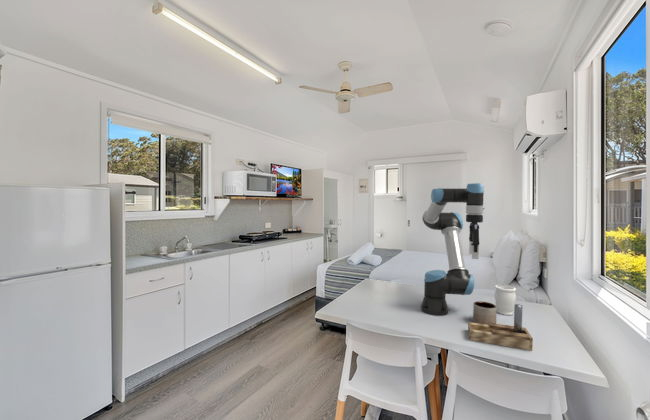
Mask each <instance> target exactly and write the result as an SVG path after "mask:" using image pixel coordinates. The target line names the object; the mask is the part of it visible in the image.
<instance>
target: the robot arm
mask: <svg viewBox="0 0 650 420" xmlns="http://www.w3.org/2000/svg"><path fill="white" fill-rule="evenodd" d="M484 187H485V186H484V184H483V183H480V182H479V183H478V182H477V183H476V182H475V183H473V182H472V183H467V185H466V188H443V187H442V188H441V187H439V188H433V189H432V190H431V193H430V199H431V203H430V205H429V207H428V209H427V210H425V211H424V213H423V215H422V222H423V223H424V225H425V226H426V227H427V228H428V229H431V230H435V231H436V230H437V231H441V235H443V236H444V241H445V242H444V243H445V249H446V253H447V254H446V255H447V260H448V268H449V269H448V270H447V272H446V271H445V270H440V269H434V270H429V271H426V272H425V274H424V280H423V281H424V285H423V286H424V291H423V292H424V294H423V295H424V296H423V299H422V302H421V304H420V309H421V311H422V312H423V313H425V314H428V315H432V316H446V315H448V314H449V305H448V303H447V299H446V295H457V296H458V295H459V296H460V295H461V296H469V295H472V293H473V292H474V290H475V289H474V288H475V277H474V275H473V274H470V273H469V269H468V268H466V267H465V260H464V255H463V251H462V250H463V248H462V245H461V239H460V233H461V232H462V230H463V228H464V226H463V225H464V222H463V221H464V220H463V218H462V215H461V214H460V213H459V212H458V213H457V212H452V211H450V212H442V211H443V210H444V208H445V207H446V205H447V204H448V203H462V204H463V203H465V204H466V205H465V214H466V215H465V221H466V222H467V223H469V227H468V228H469V237H468V240H469V243H468V245H469V247H468V248H469V249H468V254H469V255H471V259H472V260H479V249H480V248H479V247H480V246H479V245H480V225H479V224H478V223H483V222H484V215H483V214H484V210H485V207H484V194H485V193H484V192H485V190H484Z"/></svg>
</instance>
